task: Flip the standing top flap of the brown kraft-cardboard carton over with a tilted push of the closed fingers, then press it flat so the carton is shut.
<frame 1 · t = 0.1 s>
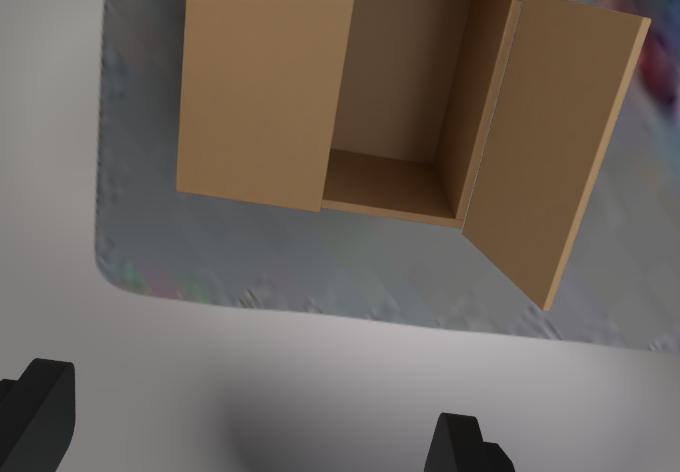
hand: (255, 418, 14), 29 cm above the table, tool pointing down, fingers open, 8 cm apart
carton: (340, 60, 39), on the table
flap: (537, 147, 28), point 14 cm above the table, hinge at 108.0°
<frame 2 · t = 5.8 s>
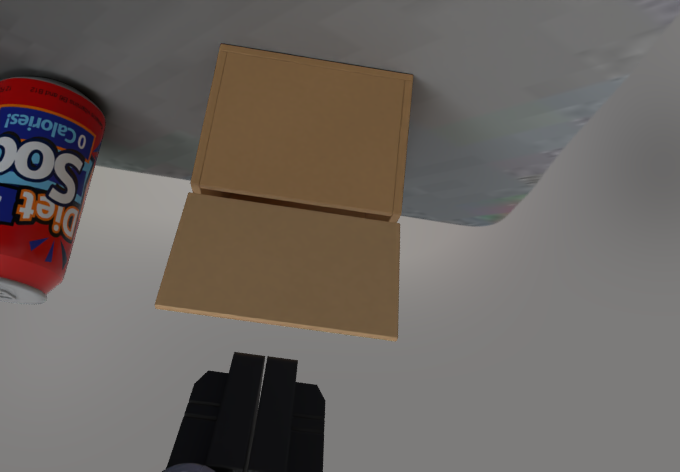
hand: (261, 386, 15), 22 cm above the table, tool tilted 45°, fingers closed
carton: (310, 120, 46), on the table
soda can: (55, 96, 48), on the table
flap: (286, 262, 33), point 14 cm above the table, hinge at 108.0°
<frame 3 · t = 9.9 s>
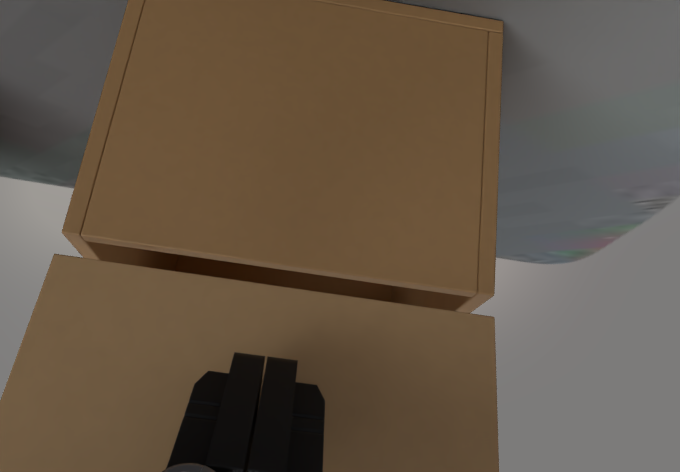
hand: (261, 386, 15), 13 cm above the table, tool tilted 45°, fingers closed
carton: (309, 109, 28), on the table
flap: (257, 425, 15), point 14 cm above the table, hinge at 99.9°, touching gripper
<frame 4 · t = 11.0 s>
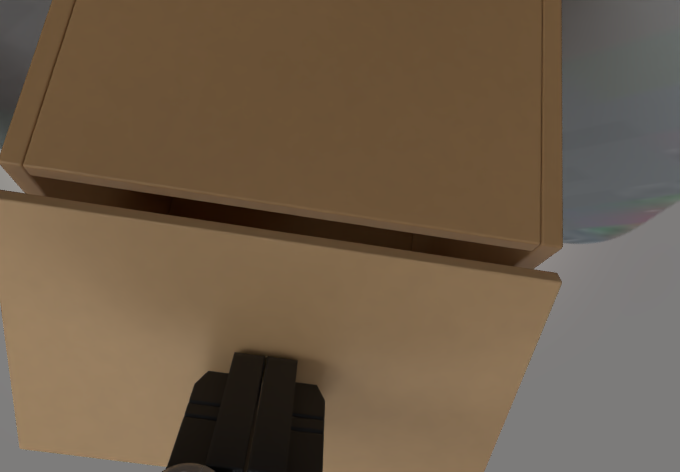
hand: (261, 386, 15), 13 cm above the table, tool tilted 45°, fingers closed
carton: (317, 48, 24), on the table
flap: (265, 368, 15), point 12 cm above the table, hinge at 39.4°, touching gripper
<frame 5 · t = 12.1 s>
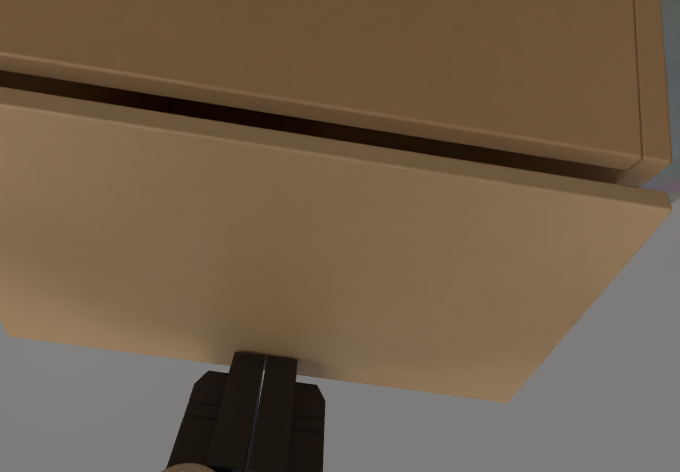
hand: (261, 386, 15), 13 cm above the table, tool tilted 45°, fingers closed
flap: (274, 277, 12), point 11 cm above the table, hinge at 18.2°, touching gripper
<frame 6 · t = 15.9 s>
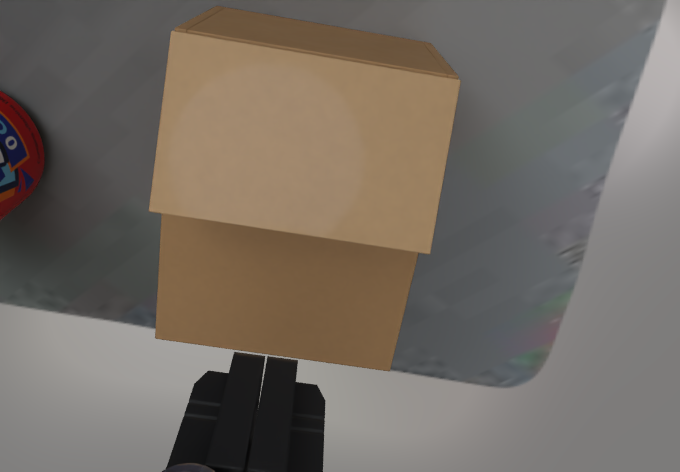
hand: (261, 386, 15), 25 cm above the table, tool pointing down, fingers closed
carton: (305, 153, 38), on the table
flap: (304, 146, 27), point 11 cm above the table, hinge at 18.2°
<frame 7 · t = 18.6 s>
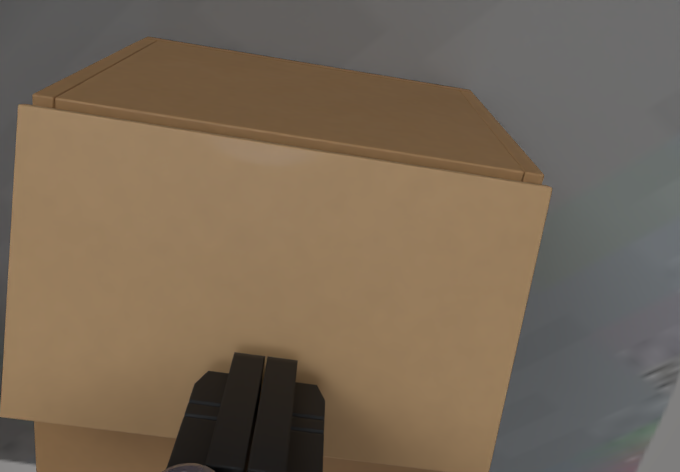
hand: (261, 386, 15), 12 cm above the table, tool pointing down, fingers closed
carton: (285, 245, 27), on the table
flap: (271, 302, 15), point 11 cm above the table, hinge at 13.3°, touching gripper
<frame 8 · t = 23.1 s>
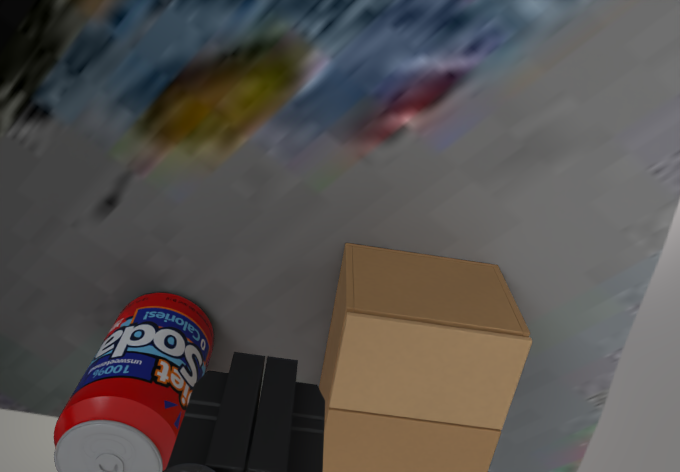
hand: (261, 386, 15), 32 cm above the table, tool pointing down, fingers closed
carton: (402, 334, 52), on the table
soda can: (169, 327, 52), on the table
flap: (427, 373, 42), point 10 cm above the table, hinge at -0.4°
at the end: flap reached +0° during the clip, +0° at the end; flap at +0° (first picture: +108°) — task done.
